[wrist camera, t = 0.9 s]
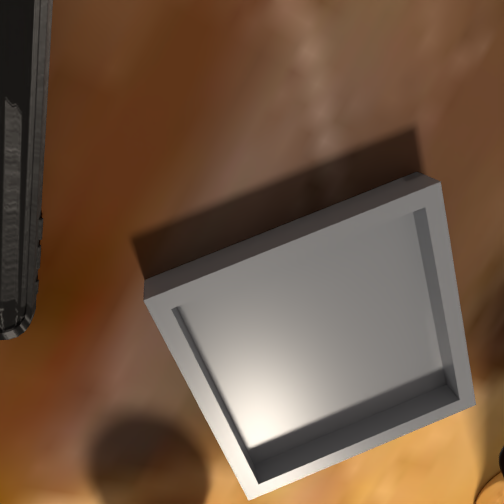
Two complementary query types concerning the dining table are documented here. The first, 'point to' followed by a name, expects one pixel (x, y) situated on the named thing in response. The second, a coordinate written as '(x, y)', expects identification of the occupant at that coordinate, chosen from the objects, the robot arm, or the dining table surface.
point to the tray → (321, 333)
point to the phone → (22, 155)
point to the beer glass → (492, 491)
